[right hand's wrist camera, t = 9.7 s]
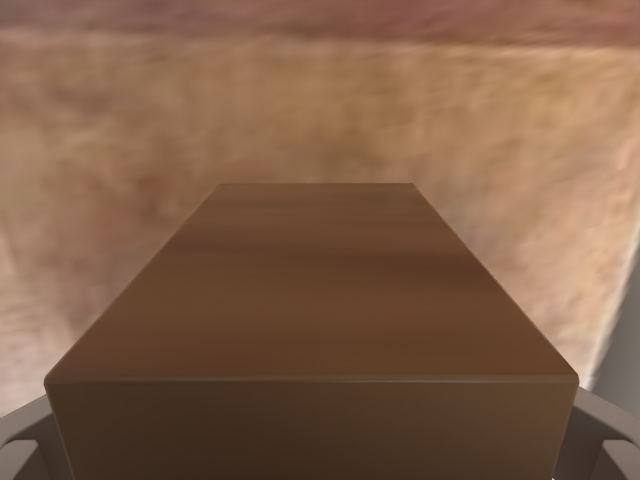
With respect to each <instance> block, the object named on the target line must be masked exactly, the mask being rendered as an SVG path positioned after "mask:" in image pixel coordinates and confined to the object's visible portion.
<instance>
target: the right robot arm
mask: <svg viewBox="0 0 640 480" xmlns="http://www.w3.org/2000/svg"><path fill="white" fill-rule="evenodd" d="M552 478H553V479H555V480H640V418H638V417H636V416H634V415H632V414H630V413H628V412H626V411H625V410H623V409H621V408H619V407H617V406H615V405H613V404H611V403H610V402H608V401H606V400H604V399H602V398H600V397H598V396H596V395H595V394H593V393H591V392H589V391H587V390H585V389H583V388H582V387H580V386H578V389H577V393H576V396H575V400H574V403H573V407H572V410H571V414H570V417H569V421H568V424H567V428H566V431H565V435H564V438H563V442H562V445H561V449H560V452H559V456H558V460H557V463H556V467H555V470H554V474H553V477H552ZM0 480H73V478H72V474H71V471H70V468H69V465H68V461H67V458H66V455H65V452H64V448H63V445H62V442H61V439H60V435H59V432H58V429H57V426H56V422H55V419H54V416H53V413H52V410H51V406H50V403H49V400H48V397H47V394H45V395H43V396H42V397H40V398H38V399H36V400H34V401H32V402H30V403H28V404H27V405H25V406H23V407H21V408H19V409H17V410H15V411H13V412H12V413H10V414H8V415H6V416H4V417H2V418H0Z"/></svg>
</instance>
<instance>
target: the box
mask: <svg viewBox="0 0 640 480" xmlns="http://www.w3.org/2000/svg"><path fill="white" fill-rule="evenodd" d="M578 386H579V377H578V374H577V373H576V372H575V371H574V370H573V368H572V367H571V366H570V365H569V364H568V363H567V361H566V360H565V359H564V358H563V357H562V356H561V354H560V353H559V352H558V351H557V350H556V349H555V348H554V346H553V345H552V344H551V343H550V342H549V341H548V339H547V338H546V337H545V336H544V335H543V334H542V333H541V331H540V330H539V329H538V328H537V327H536V326H535V324H534V323H533V322H532V321H531V320H530V319H529V317H528V316H527V315H526V314H525V313H524V312H523V311H522V309H521V308H520V307H519V306H518V305H517V304H516V302H515V301H514V300H513V299H512V298H511V297H510V295H509V294H508V293H507V292H506V291H505V290H504V289H503V287H502V286H501V285H500V284H499V283H498V282H497V280H496V279H495V278H494V277H493V276H492V275H491V274H490V272H489V271H488V270H487V269H486V268H485V267H484V265H483V264H482V263H481V262H480V261H479V260H478V258H477V257H476V256H475V255H474V254H473V253H472V252H471V250H470V249H469V248H468V247H467V246H466V245H465V243H464V242H463V241H462V240H461V239H460V238H459V237H458V235H457V234H456V233H455V232H454V231H453V230H452V228H451V227H450V226H449V225H448V224H447V223H446V221H445V220H444V219H443V218H442V217H441V216H440V215H439V213H438V212H437V211H436V210H435V209H434V208H433V206H432V205H431V204H430V203H429V202H428V201H427V199H426V198H425V197H424V196H423V195H422V194H421V193H420V191H419V190H418V189H417V188H416V187H415V186H414V184H411V183H400V184H220V185H219V186H218V187H217V188H216V189H215V190H214V191H213V192H212V193H211V194H210V195H209V197H208V198H207V199H206V200H205V201H204V202H203V203H202V204H201V205H200V206H199V208H198V209H197V210H196V211H195V212H194V213H193V214H192V215H191V216H190V218H189V219H188V220H187V221H186V222H185V223H184V224H183V225H182V226H181V227H180V229H179V230H178V231H177V232H176V233H175V234H174V235H173V236H172V237H171V238H170V240H169V241H168V242H167V243H166V244H165V245H164V246H163V247H162V248H161V249H160V251H159V252H158V253H157V254H156V255H155V256H154V257H153V258H152V259H151V260H150V262H149V263H148V264H147V265H146V266H145V267H144V268H143V269H142V270H141V271H140V273H139V274H138V275H137V276H136V277H135V278H134V279H133V280H132V281H131V282H130V284H129V285H128V286H127V287H126V288H125V289H124V290H123V291H122V292H121V293H120V295H119V296H118V297H117V298H116V299H115V300H114V301H113V302H112V303H111V305H110V306H109V307H108V308H107V309H106V310H105V311H104V312H103V313H102V314H101V316H100V317H99V318H98V319H97V320H96V321H95V322H94V323H93V324H92V325H91V327H90V328H89V329H88V330H87V331H86V332H85V333H84V334H83V335H82V336H81V338H80V339H79V340H78V341H77V342H76V343H75V344H74V345H73V346H72V347H71V349H70V350H69V351H68V352H67V353H66V354H65V355H64V356H63V357H62V358H61V360H60V361H59V362H58V363H57V364H56V365H55V366H54V367H53V368H52V369H51V371H50V372H49V373H48V374H47V375H46V376H45V379H44V387H45V390H46V393H47V397H48V400H49V403H50V406H51V410H52V413H53V416H54V419H55V422H56V426H57V429H58V432H59V435H60V439H61V442H62V445H63V448H64V452H65V455H66V458H67V461H68V465H69V468H70V471H71V474H72V478H73V480H552V477H553V474H554V470H555V467H556V463H557V460H558V456H559V452H560V449H561V445H562V442H563V438H564V435H565V431H566V428H567V424H568V421H569V417H570V414H571V410H572V407H573V403H574V400H575V396H576V393H577V389H578Z"/></svg>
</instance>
